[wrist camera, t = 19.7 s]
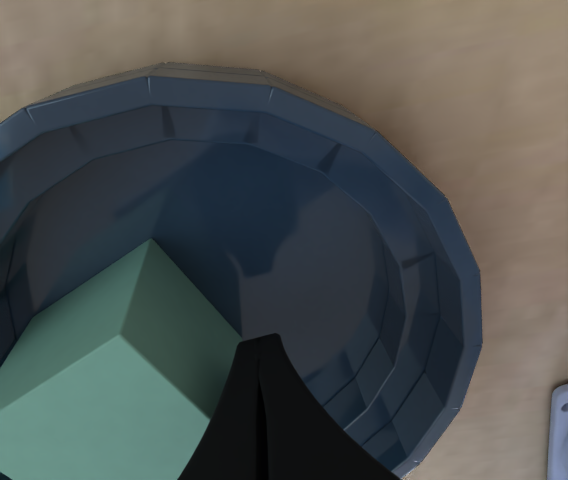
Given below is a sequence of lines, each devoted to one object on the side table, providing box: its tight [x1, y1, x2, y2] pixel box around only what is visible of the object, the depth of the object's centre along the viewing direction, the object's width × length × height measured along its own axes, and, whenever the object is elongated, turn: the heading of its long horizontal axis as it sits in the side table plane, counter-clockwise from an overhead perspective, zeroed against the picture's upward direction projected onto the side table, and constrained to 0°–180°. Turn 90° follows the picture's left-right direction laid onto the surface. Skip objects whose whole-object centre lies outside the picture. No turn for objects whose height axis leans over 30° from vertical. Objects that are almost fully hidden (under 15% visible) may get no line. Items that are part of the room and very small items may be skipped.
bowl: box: [0, 62, 483, 480], centre depth 15 cm, size 16×16×4 cm
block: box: [0, 238, 242, 480], centre depth 14 cm, size 5×5×5 cm
